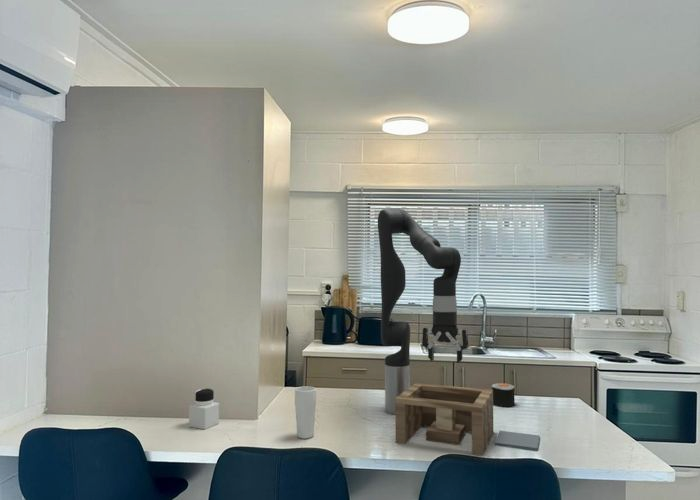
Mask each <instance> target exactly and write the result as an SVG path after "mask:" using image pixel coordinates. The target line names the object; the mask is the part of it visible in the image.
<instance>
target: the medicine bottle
mask: <svg viewBox="0 0 700 500" xmlns="http://www.w3.org/2000/svg"><path fill="white" fill-rule="evenodd" d="M194 402H195V403H193V404H190V405H189V406H188V427H189V428H195V429H200V430H208V429H209V428H212V427H214V426H216V425H218V424H220V403H219V402H215V401H214V390H213V389H211V388H200V389H198V390H196V391H195V392H194Z"/></svg>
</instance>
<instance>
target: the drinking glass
mask: <svg viewBox="0 0 700 500" xmlns="http://www.w3.org/2000/svg"><path fill="white" fill-rule="evenodd" d="M316 406H317V389H316V387H314V386H311V385H310V386H306V385H305V386H299V387H296V388H295V390H294V407H295V420H296V436H297V438H300V439H303V440H305V439H307V440H308V439H311V438H312V437H314V435H315V419H316Z"/></svg>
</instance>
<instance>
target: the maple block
mask: <svg viewBox="0 0 700 500" xmlns="http://www.w3.org/2000/svg"><path fill="white" fill-rule="evenodd" d="M455 426H456V422H455V410H452V409H443V408H436V429H440V430H448V431H453V429H454V428H455Z"/></svg>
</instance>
